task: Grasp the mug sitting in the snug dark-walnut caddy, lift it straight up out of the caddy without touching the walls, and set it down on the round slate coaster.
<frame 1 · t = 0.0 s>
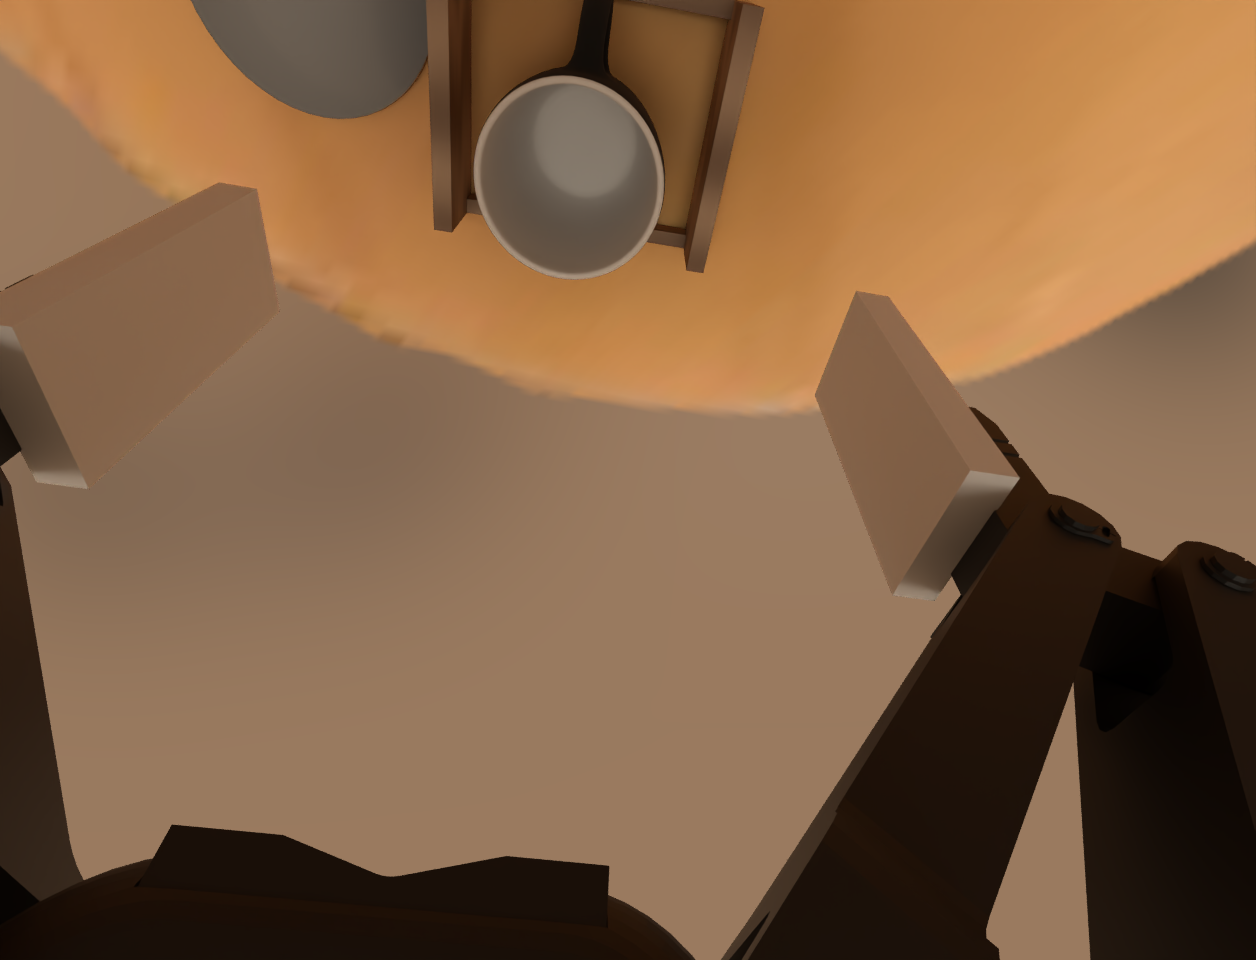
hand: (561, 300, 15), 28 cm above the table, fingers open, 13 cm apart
mug: (590, 112, 37), resting in caddy
caddy: (589, 112, 37), on the table
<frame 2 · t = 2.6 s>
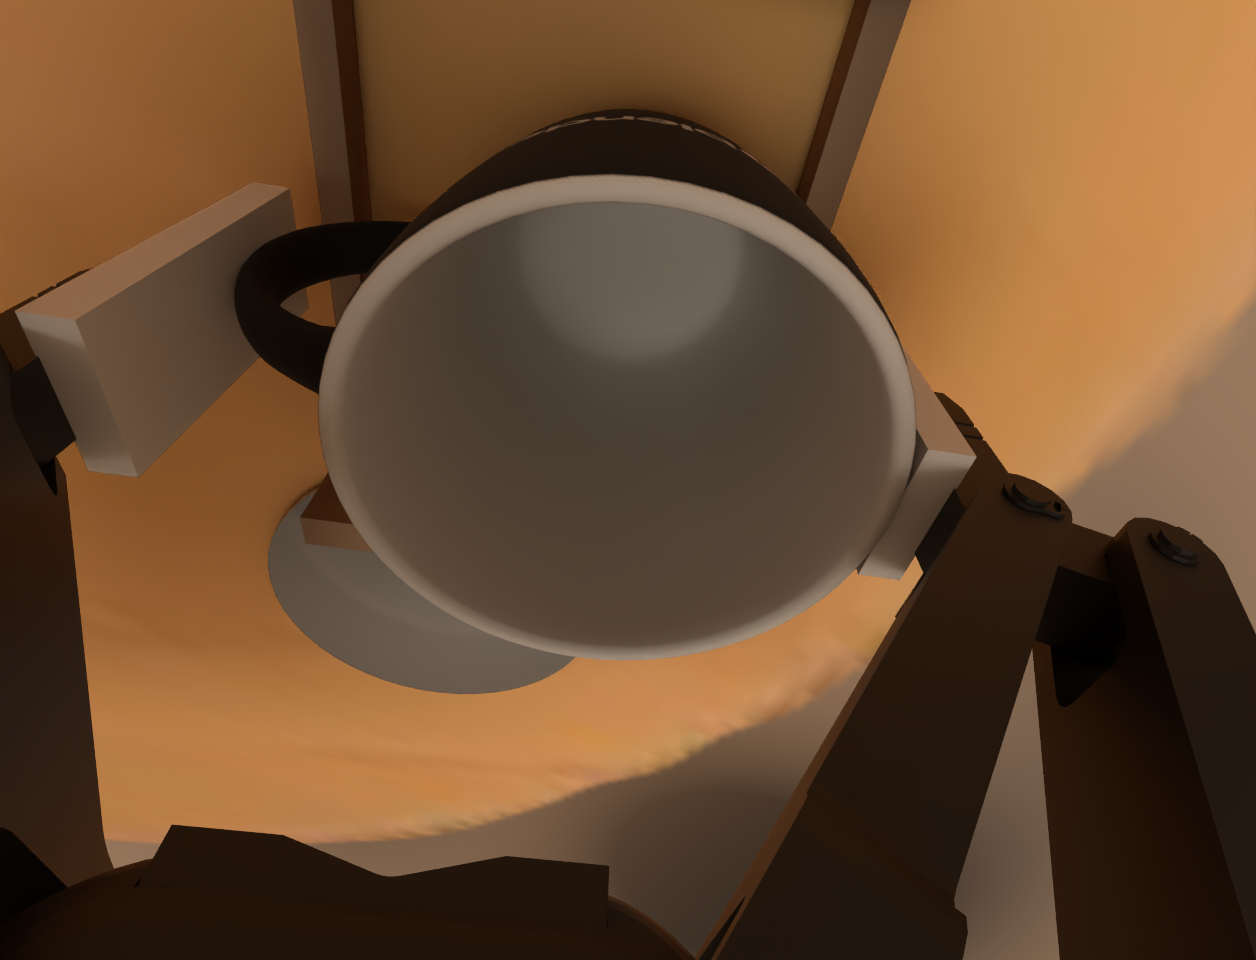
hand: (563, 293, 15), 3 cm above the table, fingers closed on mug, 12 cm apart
mug: (576, 241, 18), resting in caddy, touching gripper
caddy: (575, 245, 18), on the table
coaster: (439, 590, 27), on the table
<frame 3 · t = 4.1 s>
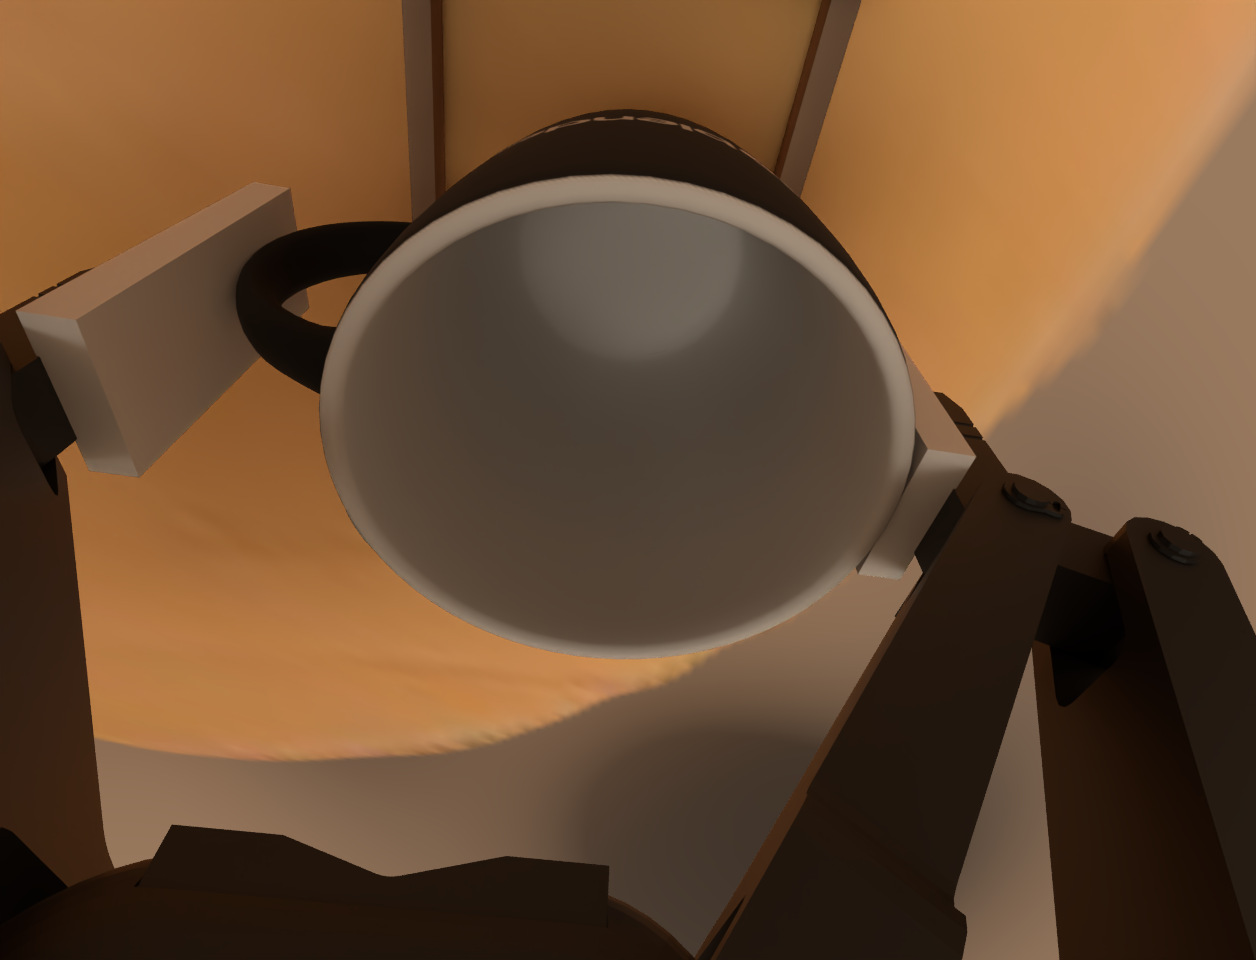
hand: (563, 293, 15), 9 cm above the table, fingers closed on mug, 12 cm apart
mug: (577, 241, 18), point 5 cm above the table, touching gripper
caddy: (605, 190, 22), on the table
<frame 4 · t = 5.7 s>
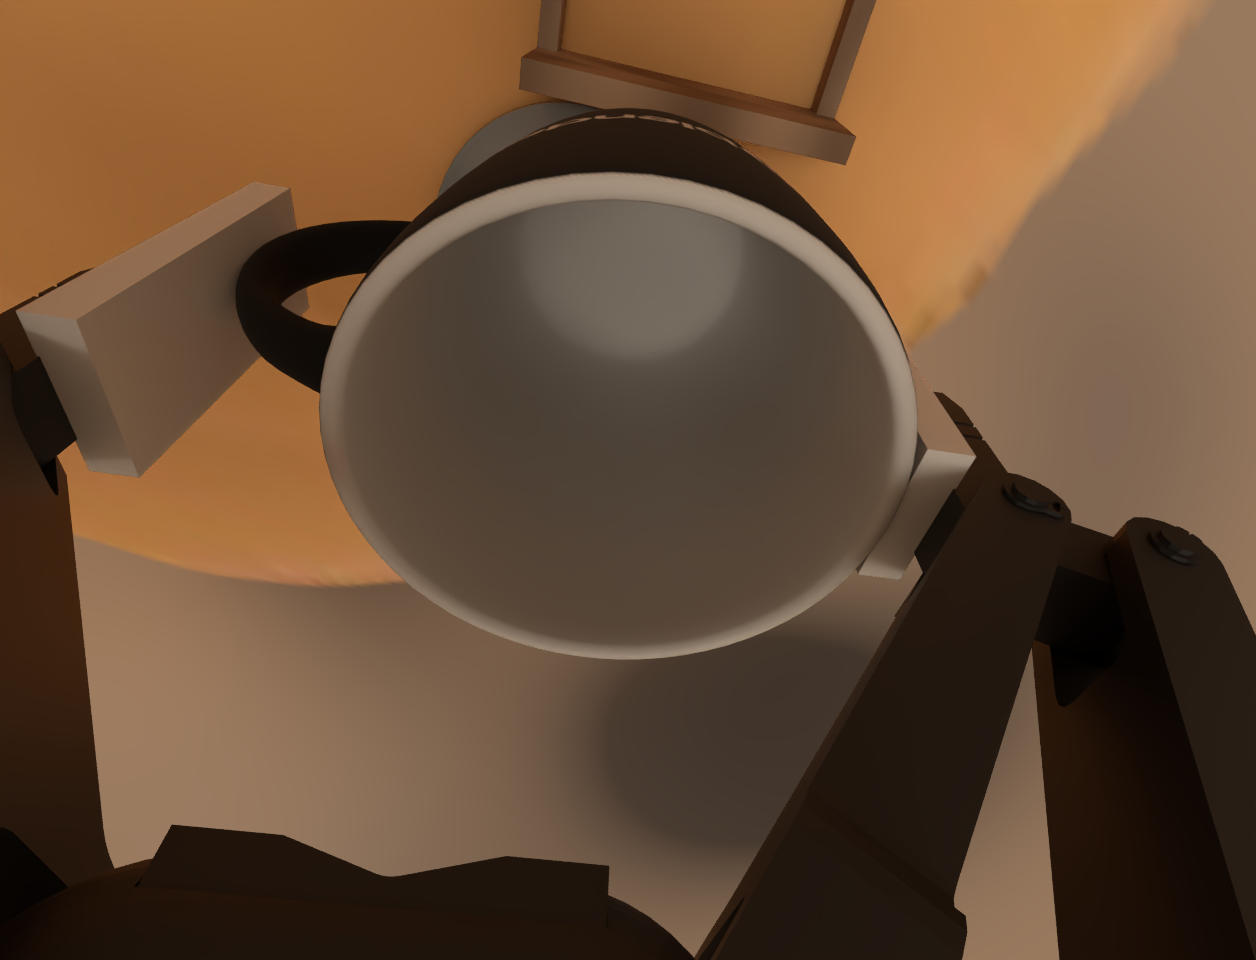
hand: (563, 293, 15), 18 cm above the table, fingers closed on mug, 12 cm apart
mug: (577, 240, 18), point 14 cm above the table, touching gripper
coaster: (568, 250, 32), on the table
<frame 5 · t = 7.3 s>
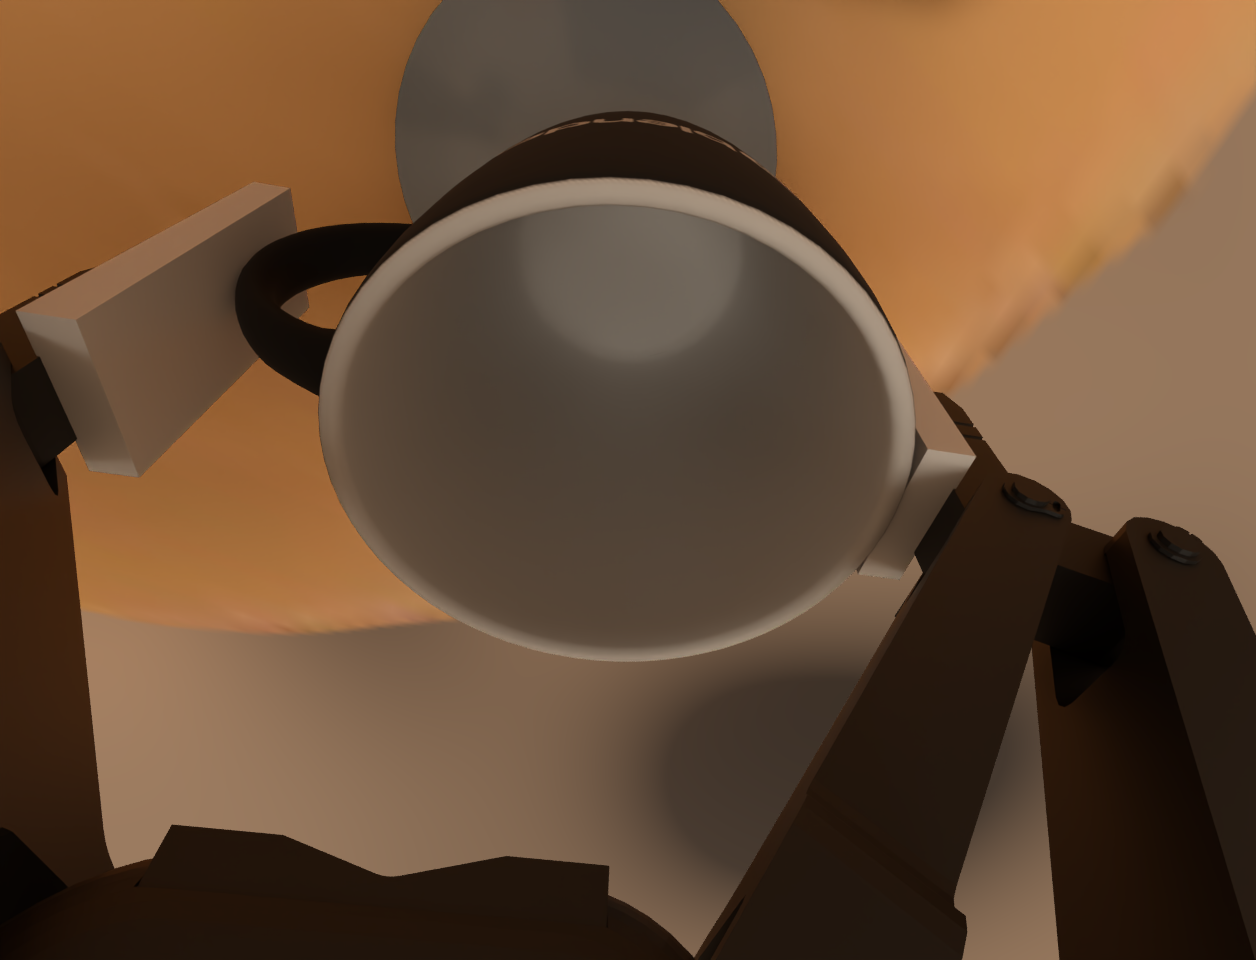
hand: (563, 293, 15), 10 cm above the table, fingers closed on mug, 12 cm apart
mug: (577, 242, 18), point 6 cm above the table, touching gripper
coaster: (587, 177, 23), on the table
when the fingers open (5 cm above the table, at t = 8.7 s): mug drops 1 cm, resting on coaster.
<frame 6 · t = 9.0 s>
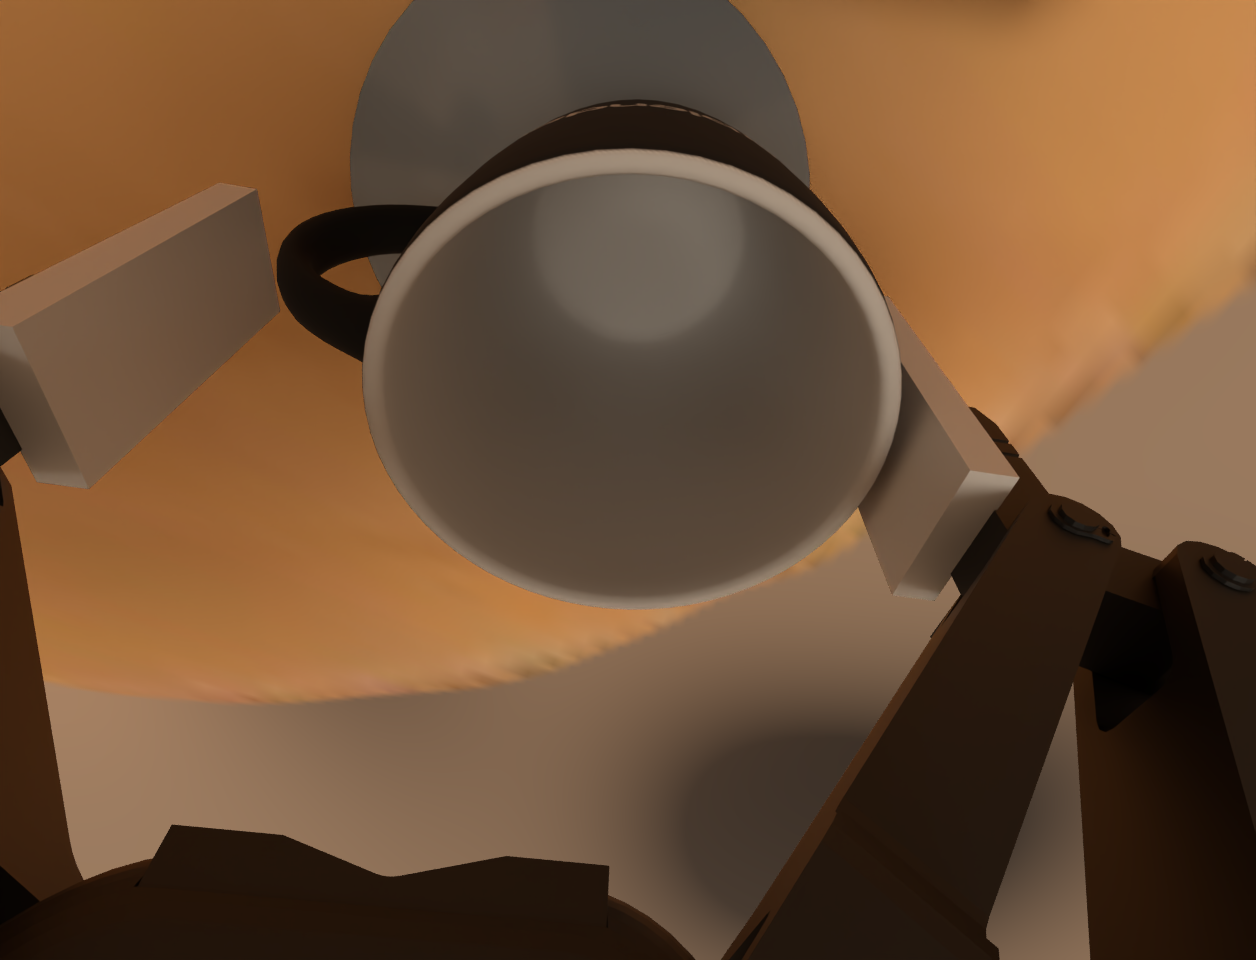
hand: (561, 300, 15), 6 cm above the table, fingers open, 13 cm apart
mug: (587, 227, 19), resting on coaster
coaster: (582, 222, 19), on the table
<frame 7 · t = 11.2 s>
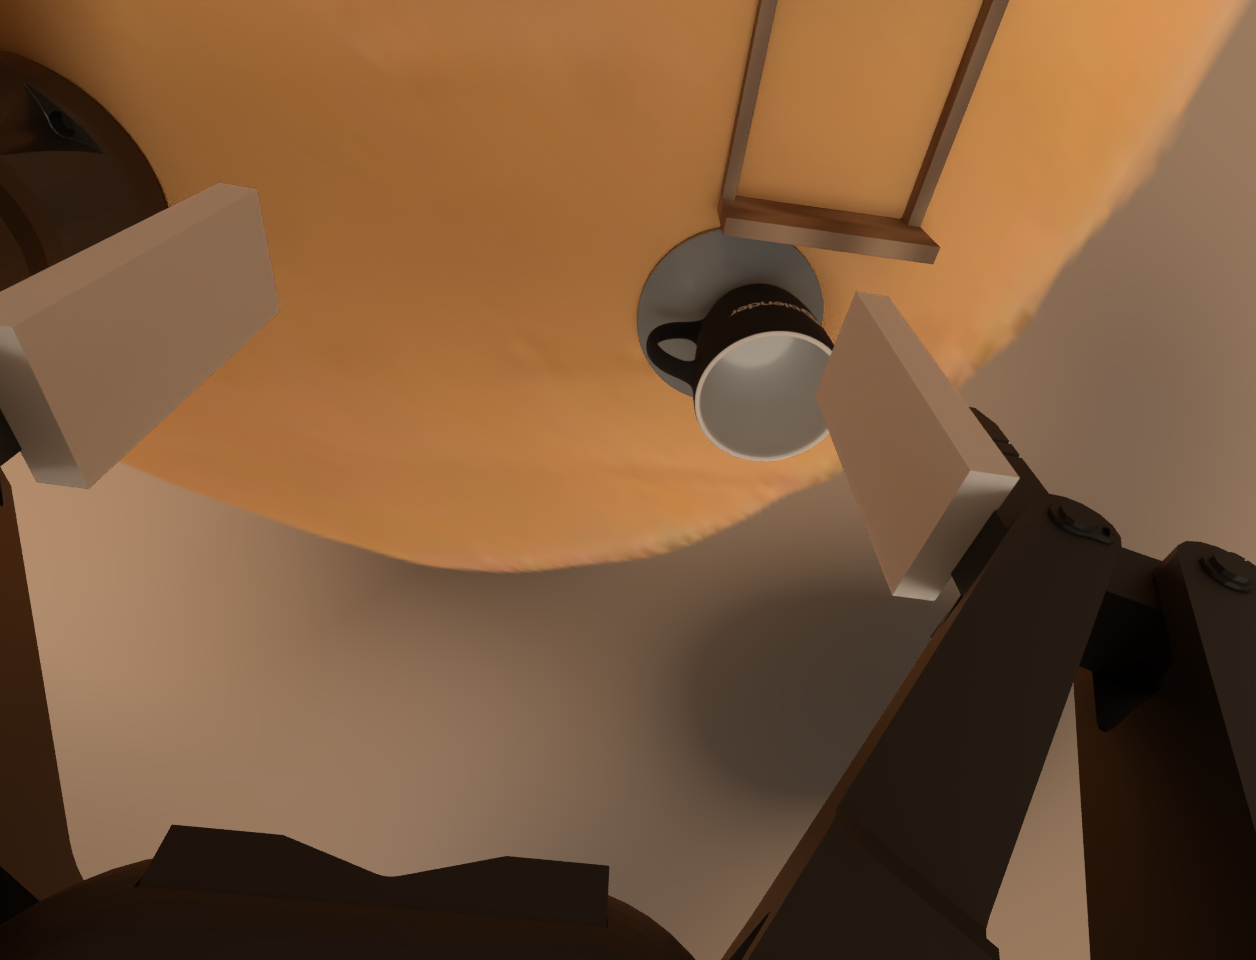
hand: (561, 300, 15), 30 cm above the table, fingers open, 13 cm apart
mug: (731, 322, 46), resting on coaster
caddy: (853, 85, 37), on the table
coaster: (728, 319, 46), on the table
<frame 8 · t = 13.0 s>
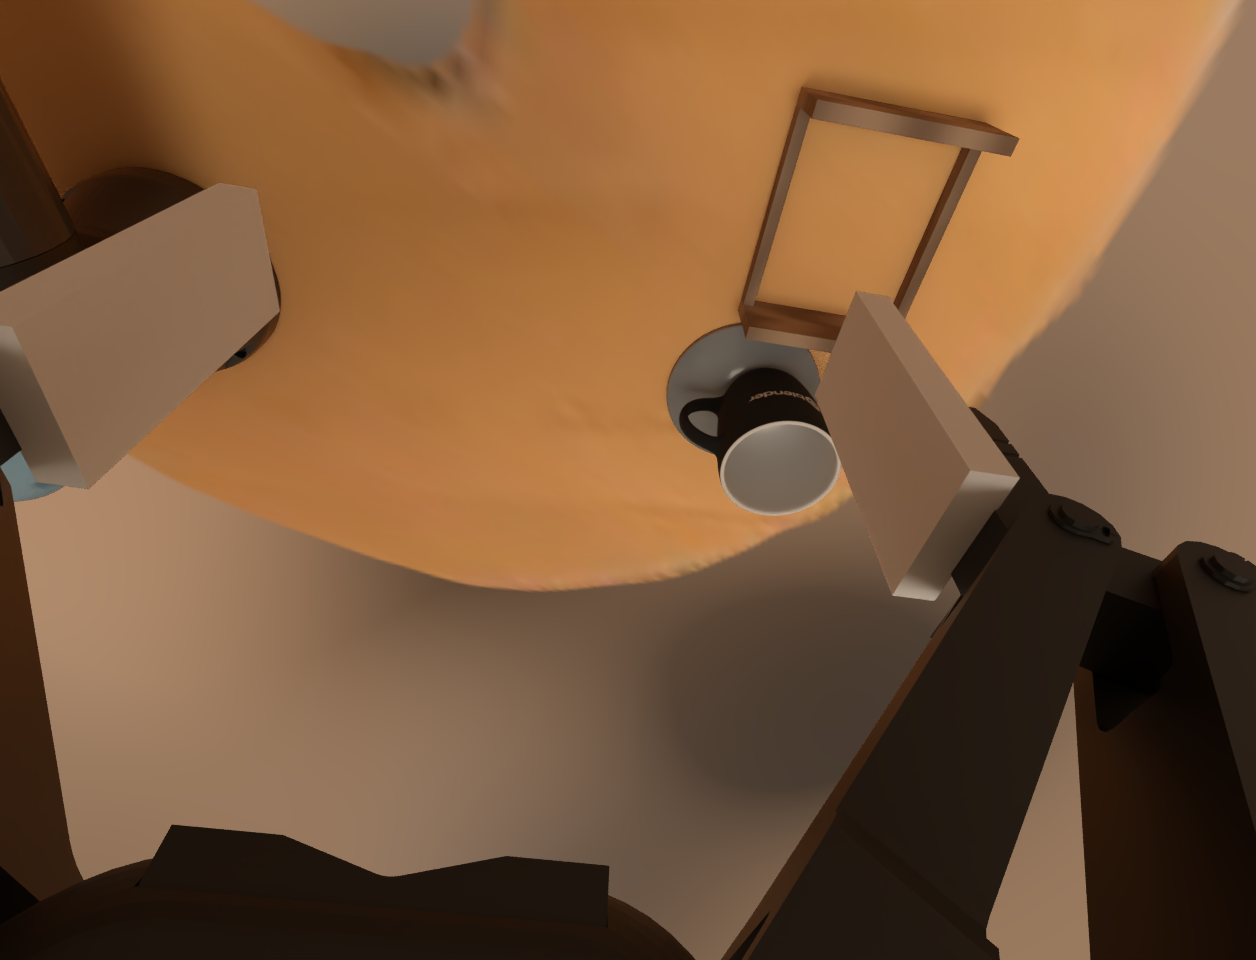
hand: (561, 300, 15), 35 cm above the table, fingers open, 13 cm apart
mug: (744, 395, 56), resting on coaster
caddy: (850, 225, 47), on the table
coaster: (741, 392, 56), on the table
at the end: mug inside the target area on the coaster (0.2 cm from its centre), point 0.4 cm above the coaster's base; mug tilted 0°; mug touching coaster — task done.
